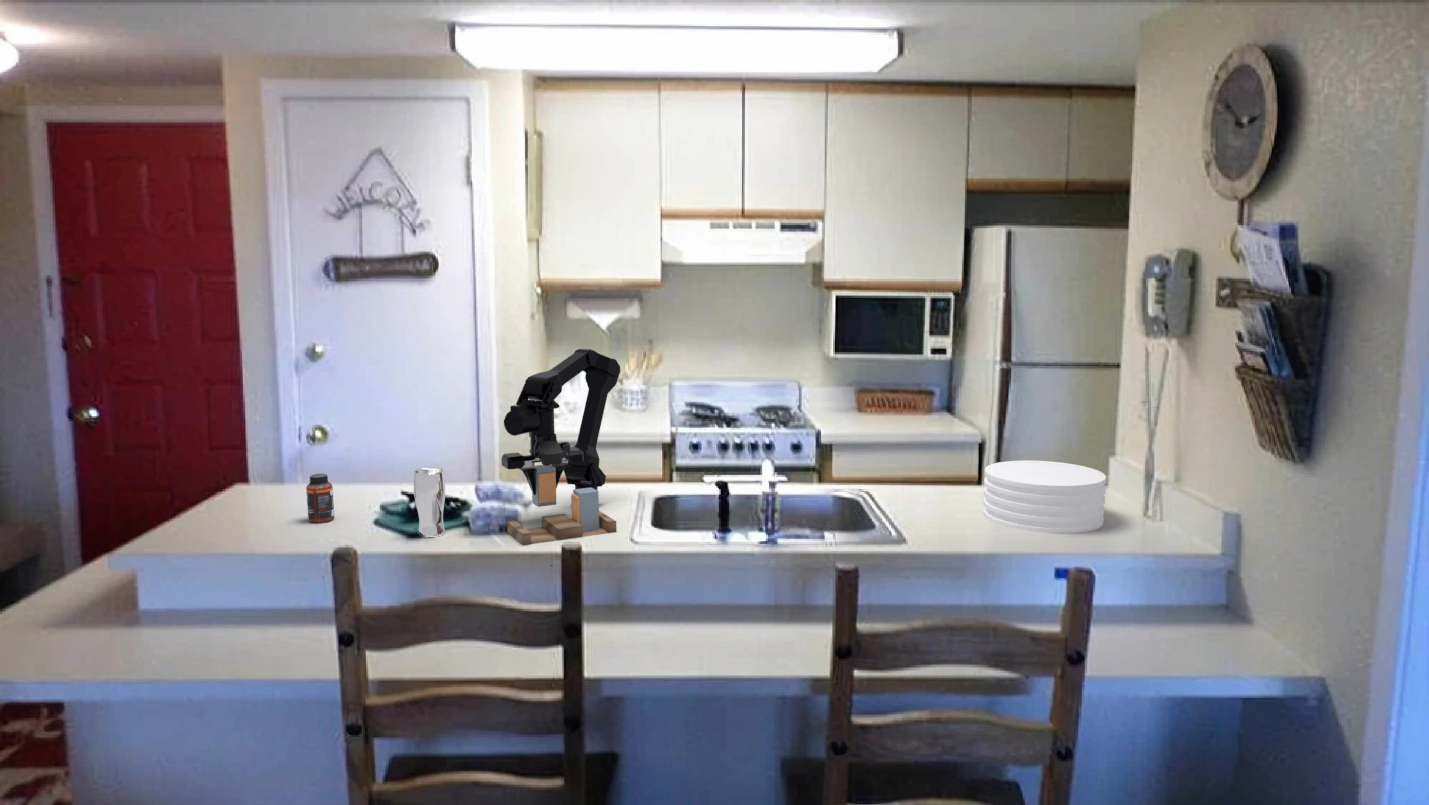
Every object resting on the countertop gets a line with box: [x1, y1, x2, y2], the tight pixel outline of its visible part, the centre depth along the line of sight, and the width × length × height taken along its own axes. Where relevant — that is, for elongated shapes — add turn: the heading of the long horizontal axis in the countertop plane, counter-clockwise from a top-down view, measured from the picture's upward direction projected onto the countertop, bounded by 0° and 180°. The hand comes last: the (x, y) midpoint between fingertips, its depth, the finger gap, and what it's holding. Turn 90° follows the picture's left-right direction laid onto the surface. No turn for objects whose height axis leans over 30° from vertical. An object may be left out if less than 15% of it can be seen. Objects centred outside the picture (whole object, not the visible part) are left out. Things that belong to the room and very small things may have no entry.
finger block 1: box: [531, 464, 557, 508], centre depth 233 cm, size 4×5×9 cm
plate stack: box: [982, 459, 1107, 534], centre depth 238 cm, size 28×28×12 cm
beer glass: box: [413, 467, 446, 537], centre depth 225 cm, size 7×7×15 cm
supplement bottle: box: [305, 473, 335, 524], centre depth 237 cm, size 6×6×11 cm
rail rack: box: [506, 510, 617, 546], centre depth 224 cm, size 12×22×4 cm, turn 118°
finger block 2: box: [570, 488, 600, 532], centre depth 226 cm, size 4×5×9 cm
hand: (544, 493), depth 233 cm, fingers closed on finger block 1, 4 cm apart
